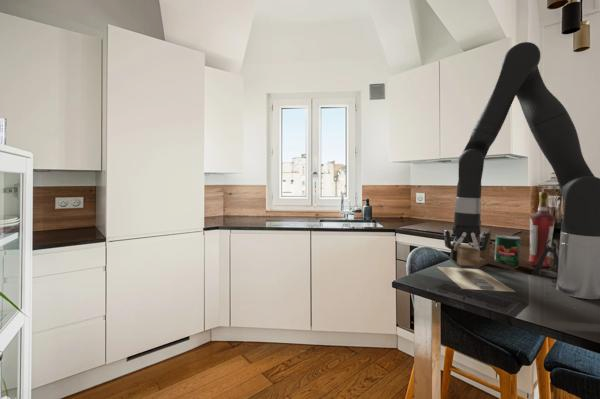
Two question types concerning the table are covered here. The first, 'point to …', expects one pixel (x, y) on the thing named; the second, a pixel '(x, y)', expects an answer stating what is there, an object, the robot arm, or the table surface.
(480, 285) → the grey chip
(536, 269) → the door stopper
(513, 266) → the canned tomato
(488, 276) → the birch board
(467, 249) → the walnut block
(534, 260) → the liquor
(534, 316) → the table surface
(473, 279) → the grey chip
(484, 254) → the wooden block
